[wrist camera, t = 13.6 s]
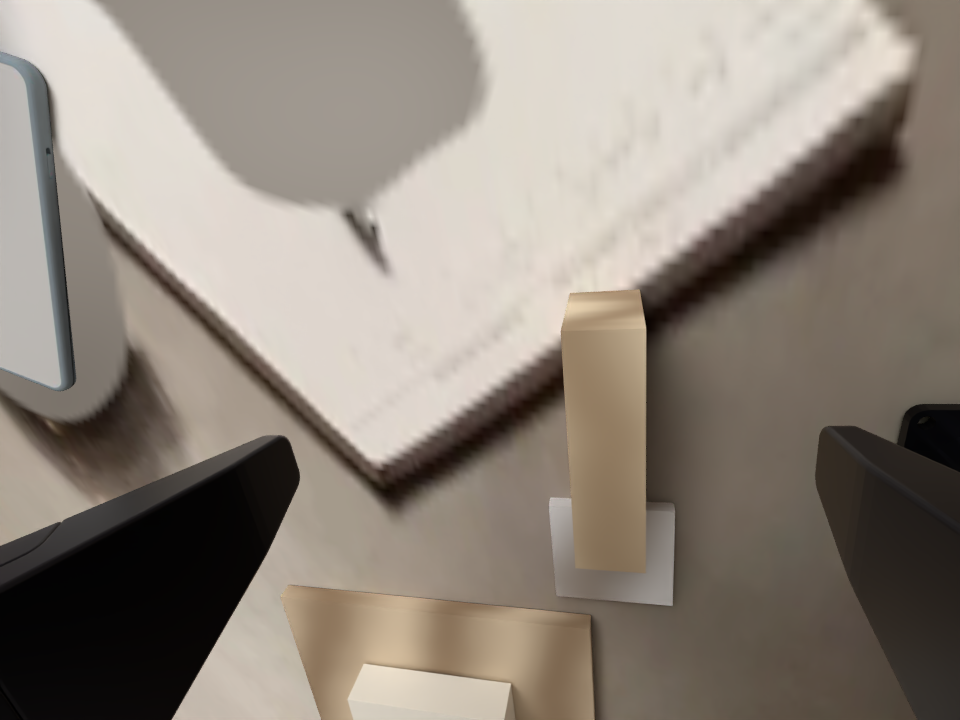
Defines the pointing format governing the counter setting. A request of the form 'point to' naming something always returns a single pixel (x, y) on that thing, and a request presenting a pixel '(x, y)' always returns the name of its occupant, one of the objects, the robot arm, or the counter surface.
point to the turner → (609, 460)
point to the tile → (427, 696)
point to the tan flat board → (443, 647)
